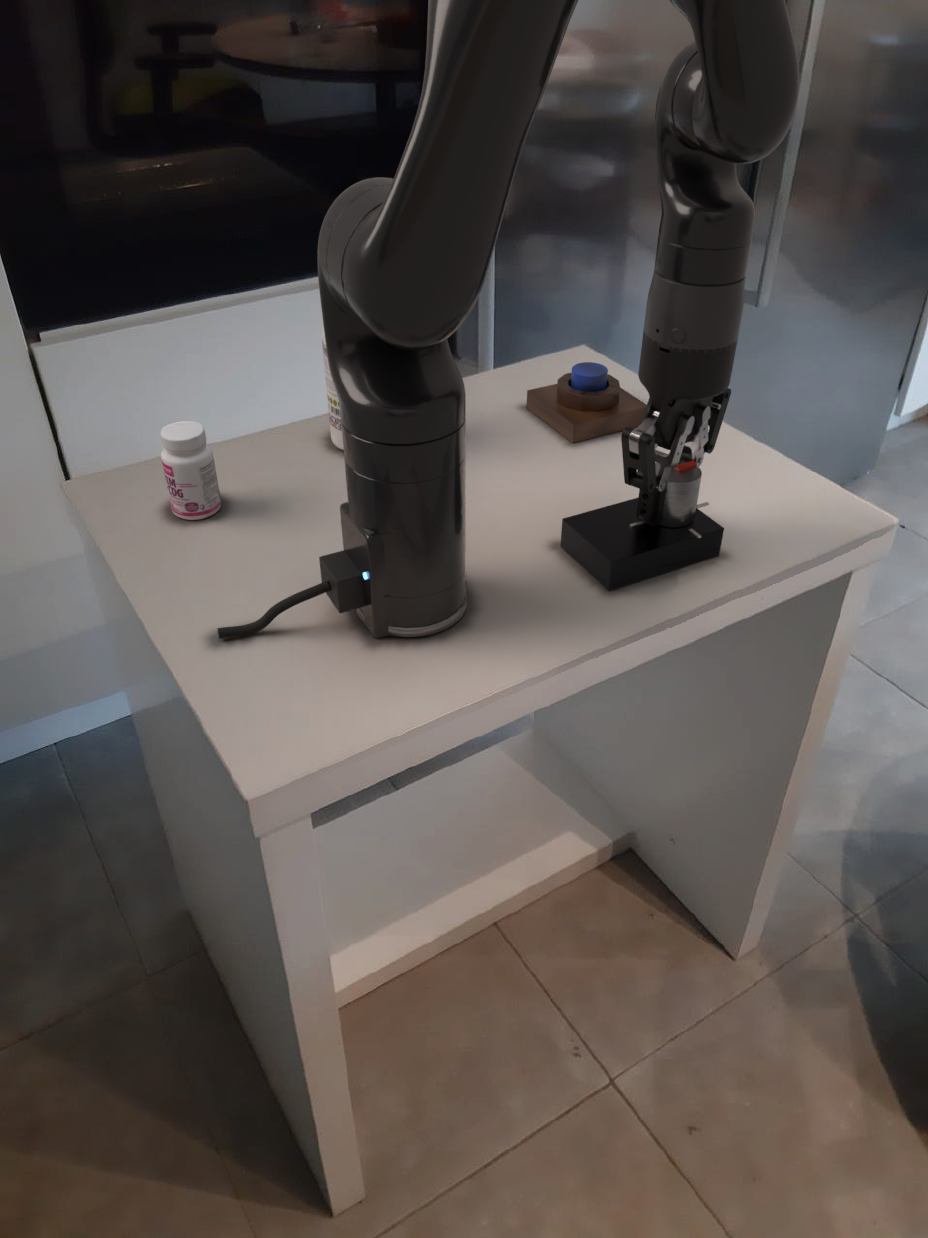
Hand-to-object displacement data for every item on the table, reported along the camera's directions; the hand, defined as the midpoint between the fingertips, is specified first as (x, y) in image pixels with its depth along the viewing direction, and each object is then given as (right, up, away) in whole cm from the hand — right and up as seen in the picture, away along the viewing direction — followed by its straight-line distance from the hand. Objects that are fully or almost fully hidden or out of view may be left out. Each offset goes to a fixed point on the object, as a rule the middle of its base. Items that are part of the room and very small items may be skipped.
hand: (663, 510), depth 89 cm
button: (-4, +16, +21) cm, 27 cm away
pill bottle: (-44, +1, +7) cm, 45 cm away
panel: (-2, -4, +1) cm, 4 cm away
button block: (-4, +13, +23) cm, 27 cm away
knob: (+1, 0, 0) cm, 1 cm away
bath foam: (-29, +10, +18) cm, 36 cm away
